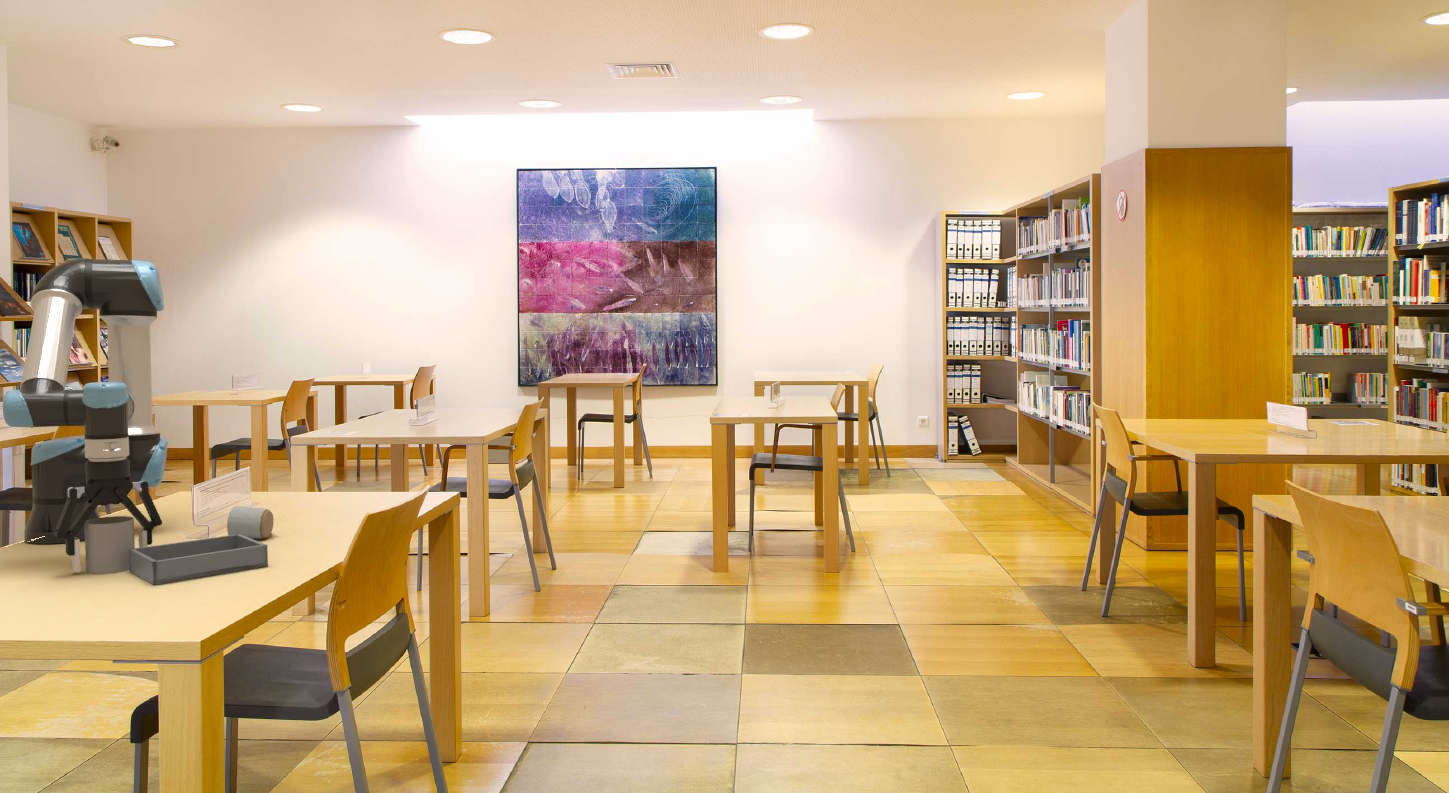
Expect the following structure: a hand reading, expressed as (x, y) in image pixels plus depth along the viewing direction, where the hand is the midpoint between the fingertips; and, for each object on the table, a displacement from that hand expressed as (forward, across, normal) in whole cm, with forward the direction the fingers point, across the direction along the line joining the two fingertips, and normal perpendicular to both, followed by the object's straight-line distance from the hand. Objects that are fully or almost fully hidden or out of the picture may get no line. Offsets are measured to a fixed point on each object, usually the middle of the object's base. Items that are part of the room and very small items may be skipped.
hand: (110, 565), depth 192 cm
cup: (+1, 0, 0) cm, 1 cm away
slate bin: (+1, +12, -12) cm, 18 cm away
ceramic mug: (+1, +32, +11) cm, 33 cm away
